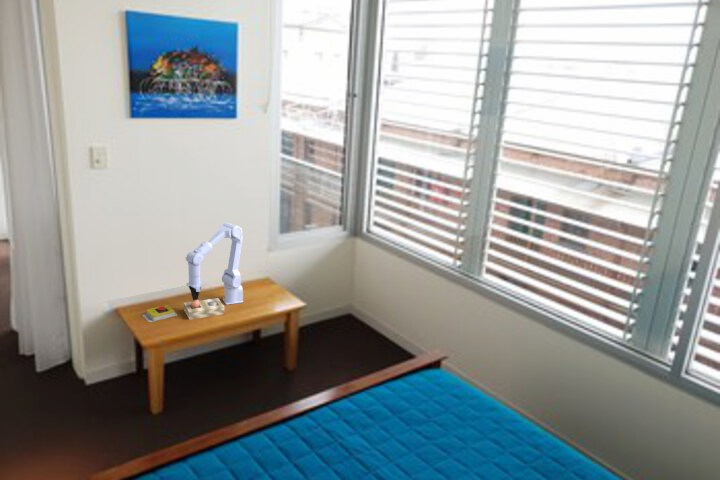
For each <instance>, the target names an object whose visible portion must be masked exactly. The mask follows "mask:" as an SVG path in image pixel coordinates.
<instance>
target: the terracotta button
mask: <svg viewBox="0 0 720 480" xmlns="http://www.w3.org/2000/svg"><path fill="white" fill-rule="evenodd" d="M199 301H200V299H197V300H193V299H192V300H190V302H191V309H195V308H199Z"/></svg>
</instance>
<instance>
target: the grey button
mask: <svg viewBox="0 0 720 480" xmlns="http://www.w3.org/2000/svg"><path fill="white" fill-rule="evenodd" d="M215 305H217V302H215V301H211V302H209V306H215Z"/></svg>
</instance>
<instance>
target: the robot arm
mask: <svg viewBox="0 0 720 480" xmlns="http://www.w3.org/2000/svg"><path fill="white" fill-rule="evenodd" d="M243 231H244V230H243V229H242V228H241V226H239V225H236V224H234V223H232V222H231V223H230V222H229V221H228V222H227V221H226V222H224V223H223V224H222V225H221V226H219V230H217V232H216V233H215V234H214V235H212V237H211V238H210V239H209V240H208V241H204V242H203V241H202V242H201V243H200V245H199V246H197V247H196V248H195V249H194V250H193V251H189V252H188V253H187V254H186V257H185V261H187V265H188V282H187V283H186V286H188V288H189V291H190V295H191V297H192V300H199V294H200V292H201V290H202V282H201V277H202V276H201V264H202V262H203V260H204V258H205V257H206V256H207V255H208V254H209V253H211V252H212V251H213V247H214V246H215V245H217V244H218V243H219V242H220V241H222V240H223V239H224V238H225V239H226V238H227V239H230V240H231V245H230V251H229V257H228V258H229V259H228V263H227V264H228V265H227V268H225V270H224V271H223V274H222V276H221V281H222V283H223V285H224V297H223V298H222V300H223V302H224V304H225V305H234V304H240V303H241V304H242V303H244V290H243V286H242V279H241V277H242V275H241V272H240V271H239V266H240V259H241V254H242V253H241V252H242V247H243V242H244V237H243Z"/></svg>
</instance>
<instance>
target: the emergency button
mask: <svg viewBox="0 0 720 480" xmlns="http://www.w3.org/2000/svg"><path fill="white" fill-rule="evenodd" d="M177 316H178V314H177V313H176V312H175V310H174V309H173V308H172V307H171V306H170V305H169V304H166V305H162V306H161V305H160V306H156V307H152V308H148V309H146V313H145V314H142V317H143V318H144V319H145V320H146V321H147V323H152V322H157V321H161V320H165V319H169V318H172V317H177Z"/></svg>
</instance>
